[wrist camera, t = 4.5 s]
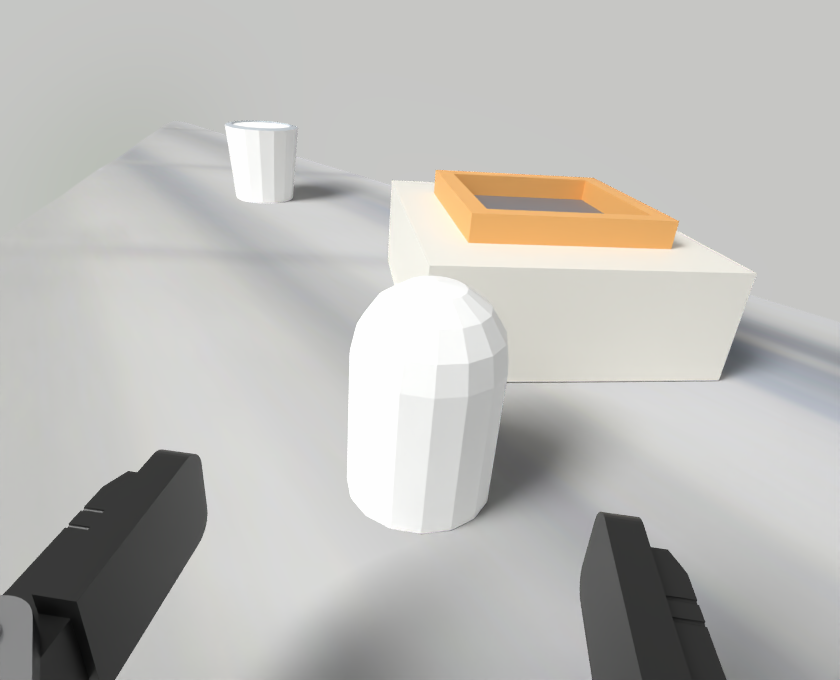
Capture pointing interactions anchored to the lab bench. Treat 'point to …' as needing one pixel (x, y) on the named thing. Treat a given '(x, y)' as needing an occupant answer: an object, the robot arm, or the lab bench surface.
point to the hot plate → (573, 275)
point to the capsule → (425, 404)
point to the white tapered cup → (262, 160)
